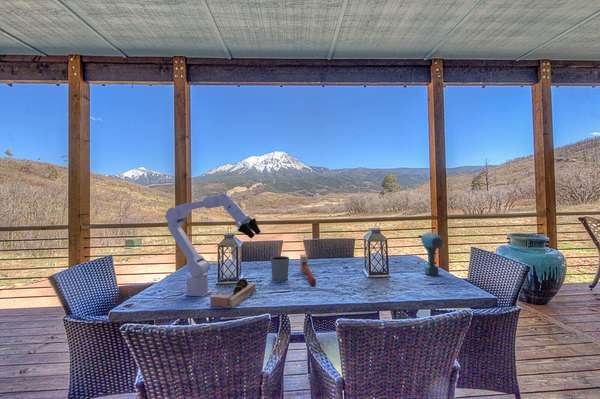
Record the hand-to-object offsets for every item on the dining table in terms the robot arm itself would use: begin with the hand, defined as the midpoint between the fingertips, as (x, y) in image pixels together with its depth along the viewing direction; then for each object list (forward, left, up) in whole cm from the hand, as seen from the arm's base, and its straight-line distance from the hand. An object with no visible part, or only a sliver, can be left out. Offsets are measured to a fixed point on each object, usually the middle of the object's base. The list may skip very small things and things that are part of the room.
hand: (256, 235), depth 142 cm
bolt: (-10, +2, -29) cm, 30 cm away
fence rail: (-5, -6, -28) cm, 29 cm away
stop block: (-10, -16, -28) cm, 34 cm away
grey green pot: (+2, +27, -28) cm, 40 cm away
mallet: (+16, +33, -29) cm, 47 cm away
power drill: (+82, +57, -28) cm, 104 cm away
